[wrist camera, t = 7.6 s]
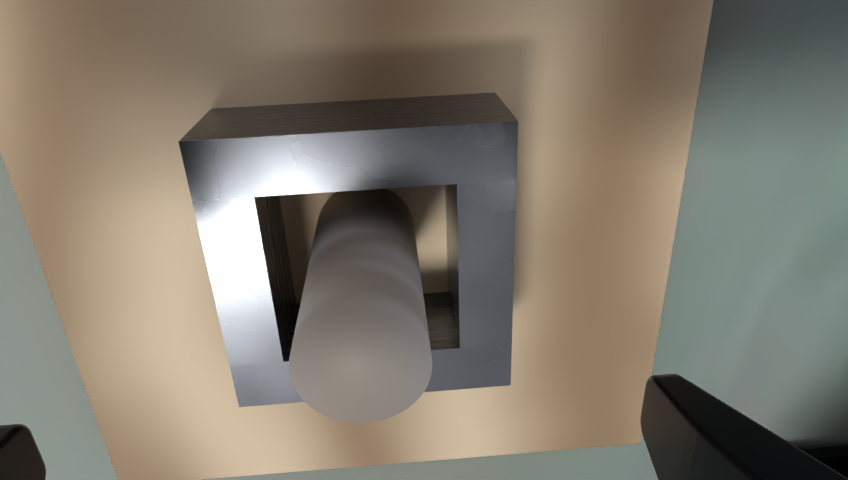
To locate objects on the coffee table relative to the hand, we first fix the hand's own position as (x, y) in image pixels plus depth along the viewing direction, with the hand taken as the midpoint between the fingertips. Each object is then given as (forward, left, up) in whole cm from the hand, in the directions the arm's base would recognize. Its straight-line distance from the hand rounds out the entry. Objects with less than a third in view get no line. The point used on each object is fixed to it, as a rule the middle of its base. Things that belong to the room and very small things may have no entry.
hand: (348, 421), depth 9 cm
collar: (0, 0, -7) cm, 7 cm away
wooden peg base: (0, 0, -8) cm, 8 cm away
